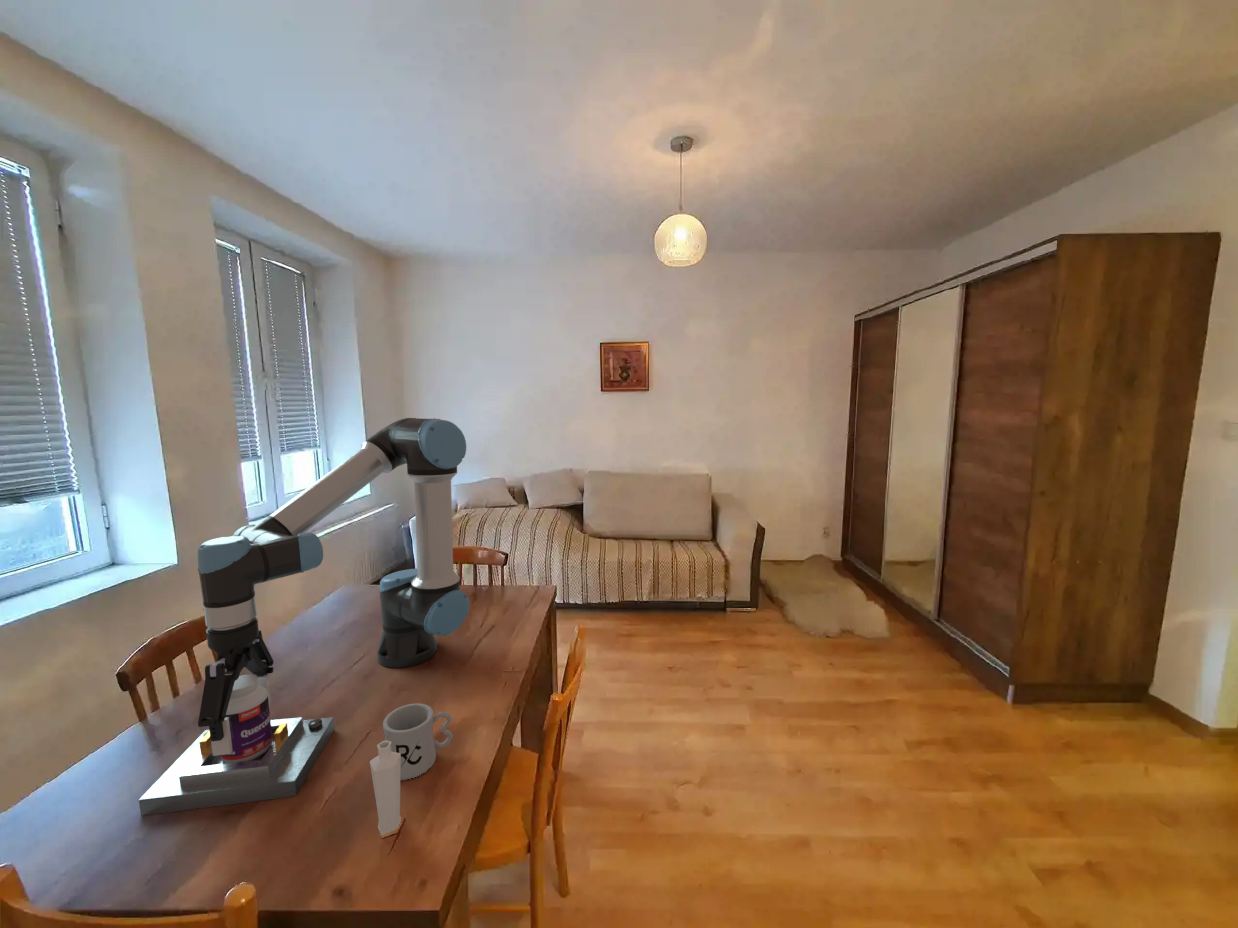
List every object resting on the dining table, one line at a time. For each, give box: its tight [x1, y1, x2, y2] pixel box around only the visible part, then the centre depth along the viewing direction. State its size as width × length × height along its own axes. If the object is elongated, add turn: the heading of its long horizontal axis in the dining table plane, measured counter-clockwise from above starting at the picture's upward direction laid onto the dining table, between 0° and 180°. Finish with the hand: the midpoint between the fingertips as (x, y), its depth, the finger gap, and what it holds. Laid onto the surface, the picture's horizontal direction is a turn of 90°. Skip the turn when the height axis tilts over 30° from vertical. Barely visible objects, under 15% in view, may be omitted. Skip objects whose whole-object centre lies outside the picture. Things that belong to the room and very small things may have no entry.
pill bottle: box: [220, 673, 273, 764], centre depth 95 cm, size 8×8×14 cm
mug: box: [382, 703, 454, 781], centre depth 97 cm, size 12×9×10 cm
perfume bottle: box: [369, 739, 403, 835], centre depth 82 cm, size 5×4×15 cm
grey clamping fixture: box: [138, 716, 335, 816], centre depth 96 cm, size 24×18×8 cm
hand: (244, 728), depth 95 cm, fingers open, 13 cm apart
